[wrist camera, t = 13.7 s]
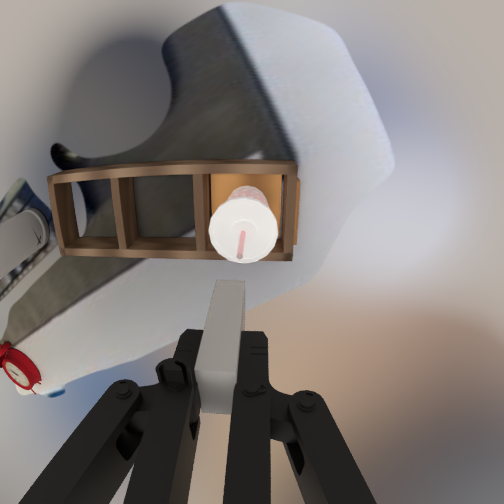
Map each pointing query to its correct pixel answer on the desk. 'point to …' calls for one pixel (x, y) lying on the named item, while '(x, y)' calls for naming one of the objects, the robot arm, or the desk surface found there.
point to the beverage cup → (244, 226)
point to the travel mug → (21, 238)
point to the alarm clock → (18, 367)
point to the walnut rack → (222, 185)
